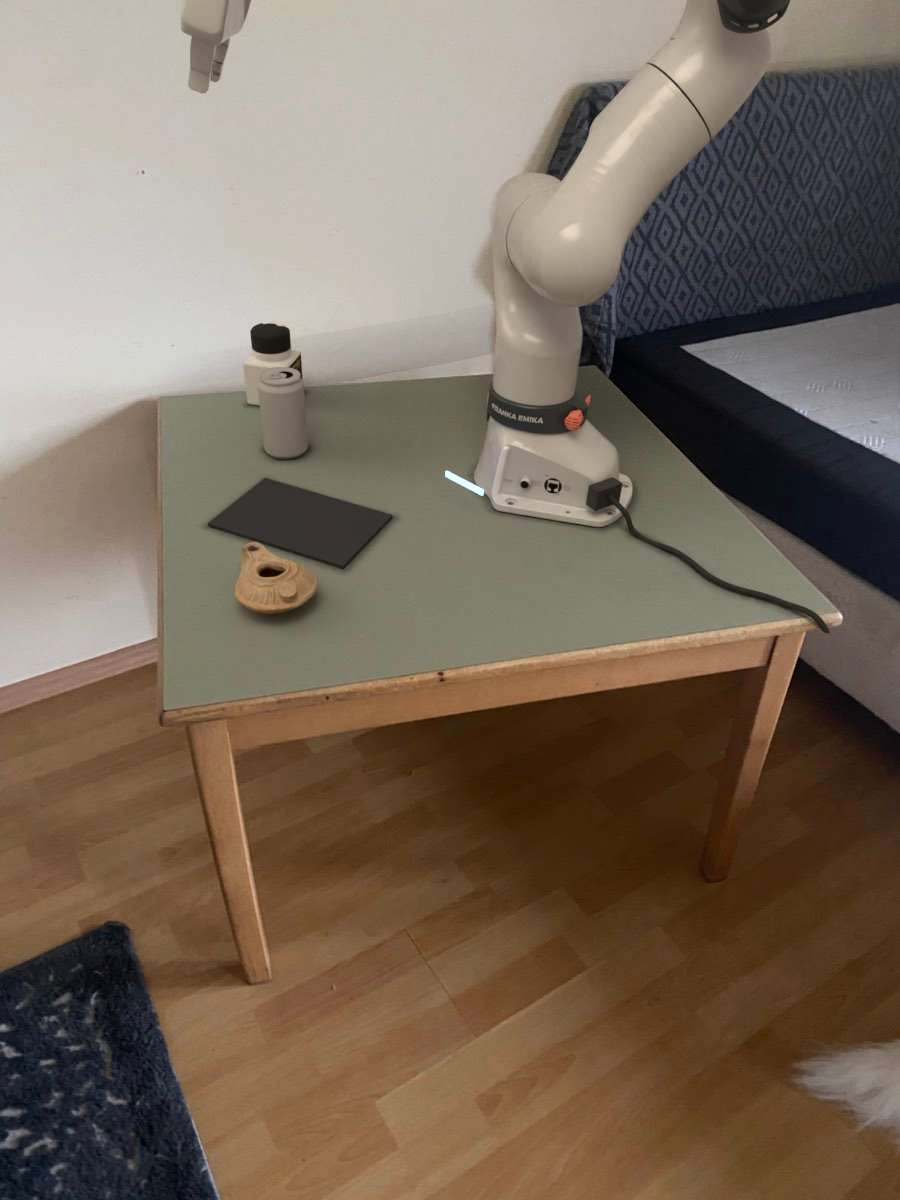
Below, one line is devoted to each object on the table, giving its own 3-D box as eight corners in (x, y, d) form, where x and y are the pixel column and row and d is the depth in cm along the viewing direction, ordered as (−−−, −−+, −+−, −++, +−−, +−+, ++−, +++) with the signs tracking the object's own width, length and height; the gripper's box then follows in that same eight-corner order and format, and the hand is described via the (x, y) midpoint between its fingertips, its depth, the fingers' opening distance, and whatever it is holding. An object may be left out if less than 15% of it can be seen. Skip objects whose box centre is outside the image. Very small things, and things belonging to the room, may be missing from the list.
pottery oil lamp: (283, 553, 108) (305, 517, 103) (306, 635, 102) (330, 601, 97) (214, 549, 103) (234, 510, 98) (234, 635, 97) (256, 599, 92)
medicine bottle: (289, 410, 139) (283, 337, 131) (246, 404, 140) (238, 332, 132) (304, 392, 144) (299, 320, 137) (263, 386, 145) (256, 315, 138)
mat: (392, 517, 116) (392, 514, 116) (343, 569, 106) (343, 565, 106) (265, 480, 122) (264, 477, 121) (208, 526, 112) (207, 523, 112)
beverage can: (315, 455, 128) (311, 378, 121) (275, 466, 125) (268, 387, 118) (296, 437, 132) (290, 361, 125) (257, 447, 129) (248, 370, 122)
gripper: (256, -71, 72) (224, 111, 79) (273, -65, 88) (246, 85, 96) (177, -104, 70) (152, 85, 77) (210, -91, 86) (187, 63, 94)
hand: (204, 85), depth 87 cm, fingers open, 8 cm apart
